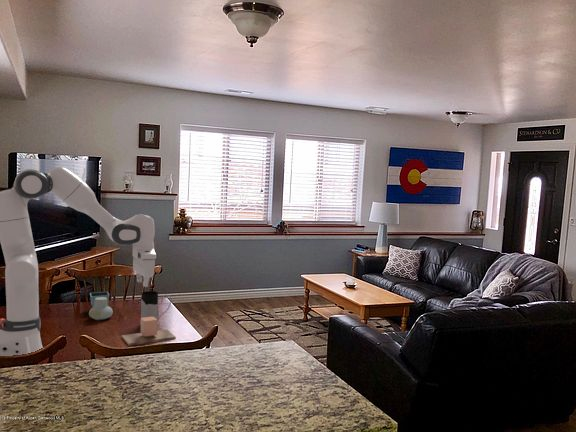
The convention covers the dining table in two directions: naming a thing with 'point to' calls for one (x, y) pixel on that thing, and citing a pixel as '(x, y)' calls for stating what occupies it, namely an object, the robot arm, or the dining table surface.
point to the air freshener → (100, 309)
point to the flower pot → (98, 294)
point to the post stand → (147, 337)
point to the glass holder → (150, 305)
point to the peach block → (148, 326)
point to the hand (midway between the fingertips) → (142, 284)
